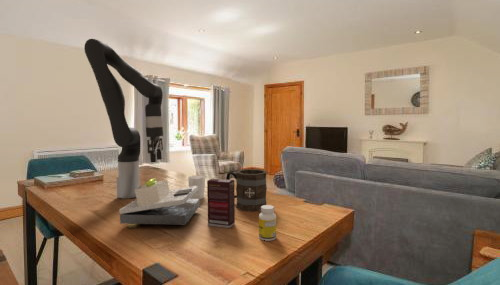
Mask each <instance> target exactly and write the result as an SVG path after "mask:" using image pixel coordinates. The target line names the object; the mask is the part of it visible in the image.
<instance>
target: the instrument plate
mask: <svg viewBox="0 0 500 285" xmlns="http://www.w3.org/2000/svg"><path fill="white" fill-rule="evenodd" d="M197 190H198V186H192V187H189V186H187V187H181V188H180V187H179V188H175V189H170V188H169V182H168V179H165V180H164V179H163V180H157V178H156V177H153V178H151V179H149V180H147V181H146V182H145V183H144V184H143V185H141V186H140V187H139V188H137V189H135V193H136V197H135V198H136V199H135V200H133V201H131V202H129V203H128V204H126V205H125V206H123V207H121V208H119V209H118V210H119V215H120V214H123V213H129V212H136V211H142V210H148V209H155V208H161V207H167V206H174V205H180V204H184V203H185V202H186V201H187V200H188V199H191V198H190V197H191V196H192V195H193V194H194V193H195V192H196V191H197Z"/></svg>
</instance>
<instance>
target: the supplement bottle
mask: <svg viewBox="0 0 500 285" xmlns="http://www.w3.org/2000/svg"><path fill="white" fill-rule="evenodd" d="M260 211H261V212H260V213H259V215H258V237H259V239H260V240H262V241H264V240H265V241H266V242H270V241H274V240H276V239H277V215H276V213H274V212H275V207H274V206H273V205H270V204H267V205H263V206H261V210H260Z"/></svg>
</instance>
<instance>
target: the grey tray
mask: <svg viewBox="0 0 500 285" xmlns="http://www.w3.org/2000/svg"><path fill="white" fill-rule="evenodd" d="M200 204H201V203H200V199H191V198H189V199H188V200H187V201H186V202H185V203H184V204H180V205H174V206H167V207H161V208H155V209H148V210H142V211H136V212H129V213H123V214H120V213H119V218H120V219H119V222H120V224H126V226H127V228H128V229H136V228H138V226H139V227H140V226H141V225H175V226H176V225H181V226H182V225H183V226H185V225H186V224H187V223H188V222H189V221H191V220H192V217H193V215H194V214H196V212H197V210H198V209H199V208H200V206H201V205H200ZM135 227H136V228H135Z"/></svg>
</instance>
